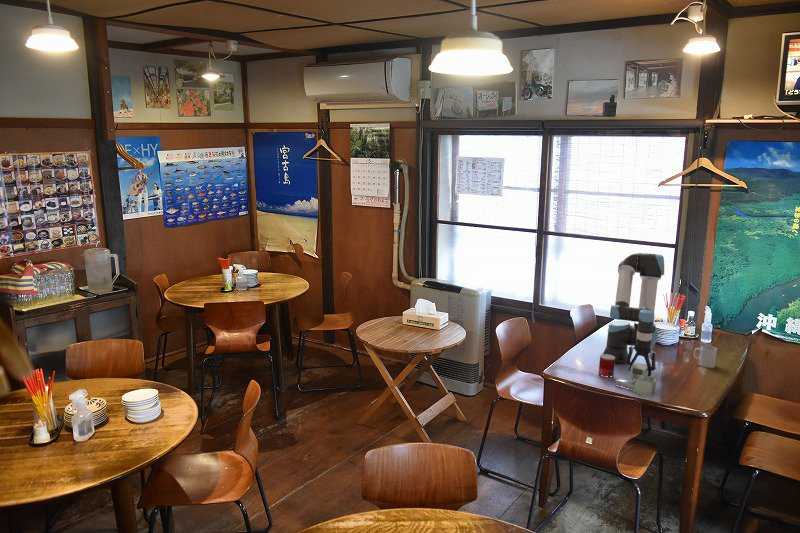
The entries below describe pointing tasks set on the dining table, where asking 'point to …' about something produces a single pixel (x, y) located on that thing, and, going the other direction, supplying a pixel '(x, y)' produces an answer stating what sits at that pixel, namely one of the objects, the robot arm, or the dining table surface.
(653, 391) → the pale grey block
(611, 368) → the canned food
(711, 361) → the mug
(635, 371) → the beige hollow box
